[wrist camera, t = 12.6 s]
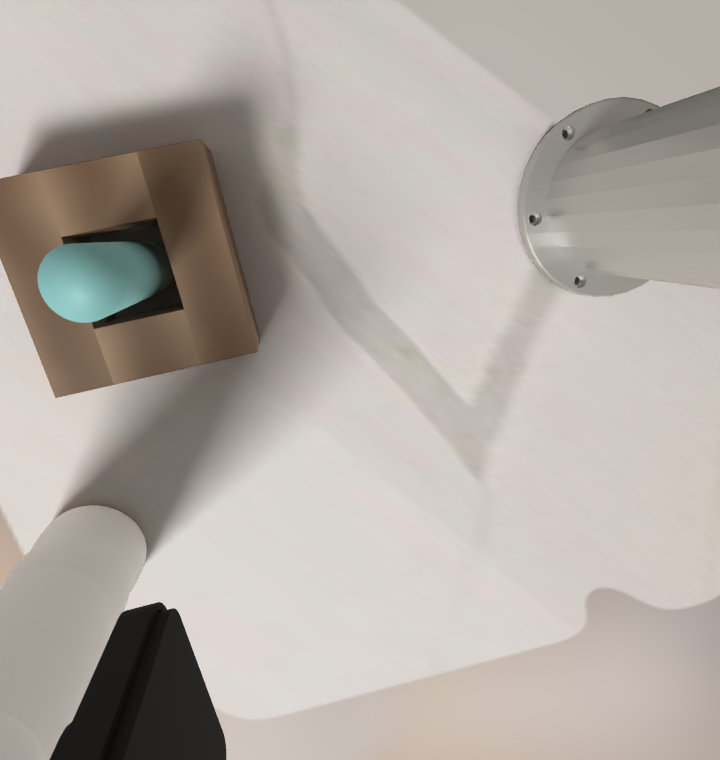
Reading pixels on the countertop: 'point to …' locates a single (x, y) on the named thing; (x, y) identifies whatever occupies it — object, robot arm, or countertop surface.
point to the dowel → (102, 277)
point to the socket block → (117, 212)
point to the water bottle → (61, 622)
